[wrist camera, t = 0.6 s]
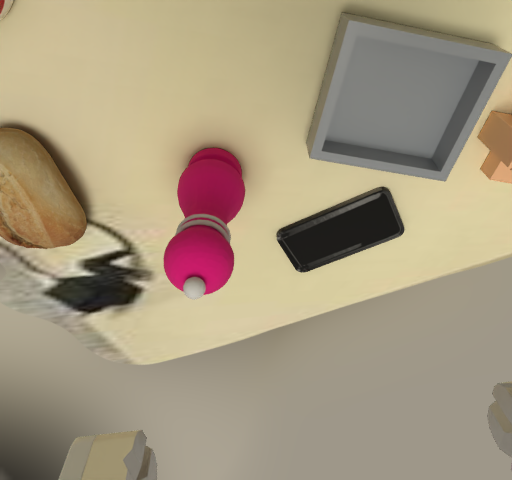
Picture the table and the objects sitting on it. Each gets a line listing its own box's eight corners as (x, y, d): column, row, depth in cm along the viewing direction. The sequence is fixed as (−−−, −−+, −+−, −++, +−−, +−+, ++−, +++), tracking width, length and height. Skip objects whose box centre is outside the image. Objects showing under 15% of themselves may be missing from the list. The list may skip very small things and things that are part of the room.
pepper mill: (257, 161, 47) (256, 283, 31) (228, 207, 51) (214, 336, 35) (199, 131, 45) (166, 246, 29) (174, 182, 49) (133, 307, 33)
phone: (273, 235, 53) (388, 187, 48) (273, 229, 54) (385, 182, 49) (299, 275, 57) (407, 234, 52) (298, 269, 58) (404, 229, 53)
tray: (342, 12, 38) (349, 20, 35) (493, 43, 39) (512, 54, 36) (306, 142, 46) (309, 158, 43) (433, 164, 47) (445, 181, 44)
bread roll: (48, 238, 54) (20, 280, 48) (-35, 137, 46) (-83, 172, 39) (111, 219, 52) (91, 260, 46) (37, 110, 44) (0, 142, 37)
